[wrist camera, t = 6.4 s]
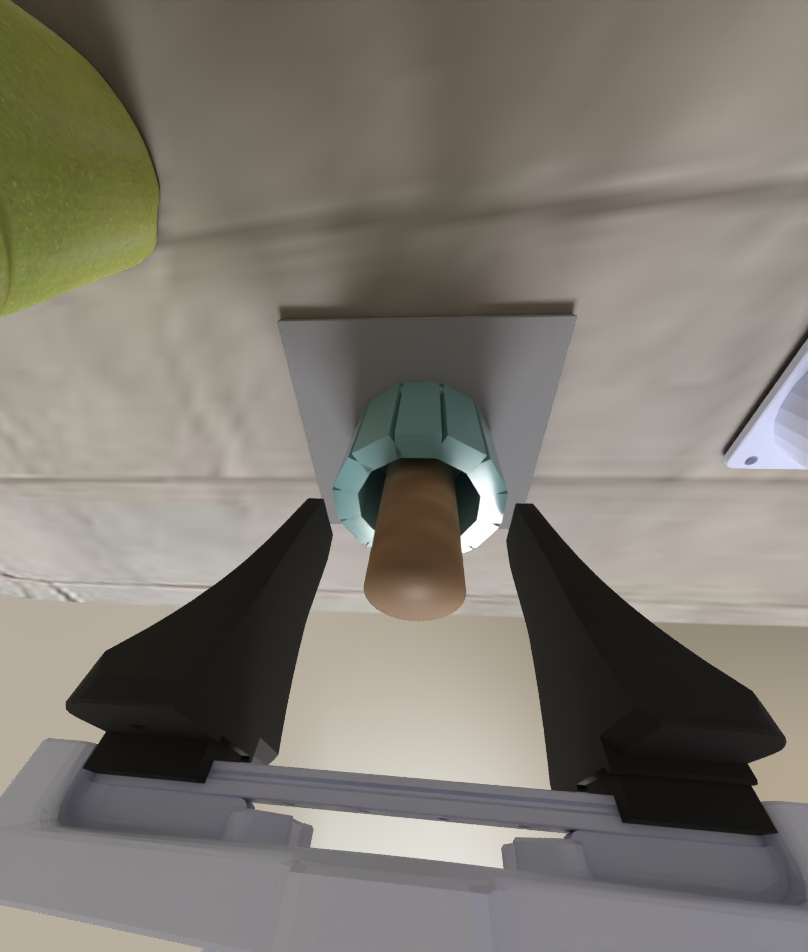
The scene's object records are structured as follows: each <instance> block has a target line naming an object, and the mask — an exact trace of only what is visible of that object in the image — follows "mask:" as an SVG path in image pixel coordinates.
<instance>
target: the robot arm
mask: <svg viewBox="0 0 808 952" xmlns="http://www.w3.org/2000/svg"><path fill="white" fill-rule="evenodd" d="M723 463H725V464H726V465H727V466H728V467H730V468H757V469H808V339H807V340H806V342H805V343H804V344H803V346H802V347H801V349H800V350H799V351H798V353H797V354H796V356H795V357H794V358H793V360H792V361H791V363H790V364H789V366H788V367H787V368H786V370H785V371H784V373H783V374H782V375H781V377H780V378H779V380H778V381H777V382H776V384H775V385H774V387H773V388H772V389H771V391H770V392H769V394H768V395H767V396H766V398H765V399H764V401H763V402H762V404H761V405H760V406H759V408H758V409H757V411H756V412H755V413H754V415H753V416H752V418H751V419H750V420H749V422H748V423H747V425H746V426H745V427H744V429H743V430H742V432H741V433H740V435H739V436H738V437H737V439H736V440H735V442H734V443H733V444H732V446H731V447H730V449H729V450H728V451H727V453H726V454H725V456H724V458H723ZM332 537H333V534H332V530H331V526H330V522H329V518H328V514H327V510H326V505H325V501H324V499H316V498H308V499H307V500H306V501H305V502H304V503H303V504H302V505H301V506H300V507H299V508H298V509H297V511H296V512H295V513H294V514H293V515H292V516H291V517H290V518H289V519H288V520H287V521H286V522H285V523H284V524H283V525H282V526H281V527H280V528H279V529H278V530H277V531H276V532H275V533H274V534H273V535H272V536H271V537H270V538H269V539H268V540H267V541H266V542H265V543H264V544H263V545H262V546H261V547H260V548H259V549H257V550H256V551H255V552H254V553H253V554H252V555H251V556H250V557H249V558H248V559H246V560H245V561H244V562H243V563H242V564H241V565H239V566H238V567H237V568H236V569H235V570H233V571H232V572H231V573H229V574H228V575H227V576H226V577H224V578H223V579H222V580H220V581H219V582H218V583H216V584H215V585H214V586H212V587H211V588H209V589H208V590H206V591H205V592H204V593H202V594H201V595H199V596H198V597H196V598H195V599H194V600H192V601H191V602H189V603H188V604H186V605H185V606H183V607H181V608H180V609H178V610H177V611H175V612H174V613H172V614H170V615H169V616H167V617H165V618H164V619H162V620H161V621H159V622H157V623H156V624H154V625H152V626H150V627H149V628H147V629H145V630H143V631H141V632H140V633H138V634H136V635H134V636H132V637H131V638H129V639H127V640H125V641H123V642H121V643H120V644H118V645H116V646H114V647H112V648H110V649H108V650H106V651H105V652H104V654H103V655H102V656H101V657H100V659H99V660H98V661H97V662H96V664H95V665H94V666H93V668H92V669H91V670H90V672H89V673H88V674H87V675H86V677H85V678H84V679H83V680H82V682H81V683H80V685H79V686H78V687H77V688H76V690H75V691H74V692H73V693H72V695H71V696H70V697H69V699H68V700H67V701H66V710H67V711H68V712H69V713H70V714H72V715H74V716H76V717H77V718H79V719H81V720H84V721H86V722H88V723H90V724H92V725H94V726H96V727H98V728H100V729H102V730H104V731H106V733H105V734H104V736H103V737H102V739H101V740H100V742H99V744H95V743H91V742H85V741H76V740H64V739H52V738H48V739H46V740H44V741H43V742H42V743H41V744H40V746H39V747H38V748H37V750H36V751H35V752H34V753H33V755H32V756H31V757H30V759H29V760H28V761H27V763H26V764H25V765H24V767H23V768H22V769H21V771H20V772H19V773H18V775H17V776H16V777H15V779H14V780H13V781H12V782H11V784H10V785H9V786H8V788H7V789H6V790H5V792H4V793H3V794H2V796H1V797H0V905H4V906H9V907H14V908H19V909H24V910H29V911H33V912H38V913H42V914H48V915H52V916H56V917H61V918H66V919H70V920H75V921H80V922H84V923H89V924H93V925H98V926H103V927H108V928H112V929H117V930H121V931H126V932H130V933H135V934H140V935H145V936H149V937H154V938H158V939H163V940H168V941H173V942H177V943H181V944H186V945H191V946H195V947H200V948H202V951H201V952H808V804H806V803H794V802H782V801H765V802H760V800H759V799H758V797H757V795H756V793H755V791H754V790H753V788H752V786H751V785H753V786H754V785H757V784H758V783H757V779H756V777H755V775H754V774H753V772H752V770H751V769H750V767H749V765H748V763H750V762H753V761H755V760H758V759H761V758H764V757H767V756H769V755H772V754H774V753H776V752H778V751H780V750H782V749H783V748H784V747H785V745H786V738H785V736H784V735H783V733H782V732H781V731H780V729H779V728H778V726H777V725H776V723H775V722H774V720H773V719H772V717H771V716H770V715H769V713H768V712H767V710H766V709H765V707H764V706H763V705H762V703H761V702H760V701H759V699H758V698H757V697H756V695H755V694H754V693H753V691H751V690H750V689H748V688H747V687H745V686H744V685H742V684H740V683H739V682H737V681H736V680H734V679H733V678H731V677H730V676H728V675H726V674H725V673H723V672H722V671H720V670H718V669H717V668H715V667H714V666H712V665H711V664H709V663H707V662H706V661H705V660H703V659H702V658H700V657H699V656H697V655H696V654H694V653H693V652H692V651H690V650H689V649H687V648H686V647H684V646H683V645H681V644H680V643H679V642H677V641H676V640H674V639H673V638H671V637H670V636H669V635H668V634H666V633H665V632H663V631H662V630H661V629H659V628H658V627H657V626H655V625H654V624H653V623H652V622H650V621H649V620H648V619H647V618H645V617H644V616H643V615H642V614H640V613H639V612H638V611H636V610H635V609H634V608H633V607H632V606H630V605H629V604H628V603H627V602H626V601H624V600H623V599H622V598H621V597H620V596H619V595H617V594H616V593H615V592H614V591H613V590H612V589H611V588H610V587H608V586H607V585H606V584H605V583H604V582H603V581H602V580H601V579H600V578H599V577H598V576H597V575H596V574H595V573H594V572H593V571H592V570H591V569H590V568H589V567H588V566H587V565H586V564H585V563H584V562H583V561H582V560H581V559H580V558H579V557H578V556H577V555H576V554H575V553H574V552H573V550H572V549H571V548H570V547H569V546H568V545H567V544H566V543H565V542H564V540H563V539H562V538H561V537H560V536H559V535H558V533H557V532H556V531H555V530H554V529H553V527H552V526H551V525H550V524H549V523H548V521H547V520H546V519H545V518H544V517H543V515H542V514H541V513H540V512H539V510H538V509H537V508H536V507H535V506H534V505H533V504H523V503H516V504H515V508H514V512H513V516H512V520H511V524H510V528H509V532H508V536H507V540H506V542H507V549H508V556H509V563H510V568H511V572H512V575H513V579H514V582H515V586H516V590H517V593H518V597H519V600H520V604H521V607H522V611H523V615H524V618H525V622H526V626H527V629H528V634H529V639H530V644H531V650H532V656H533V661H534V667H535V673H536V680H537V686H538V692H539V699H540V706H541V713H542V720H543V727H544V735H545V743H546V752H547V760H548V769H549V778H550V786H551V790H543V789H532V788H521V787H510V786H498V785H487V784H474V783H464V782H452V781H441V780H430V779H419V778H407V777H396V776H385V775H373V774H362V773H350V772H339V771H328V770H316V769H304V768H294V767H283V766H271V765H268V764H270V763H271V762H272V761H273V760H274V759H275V758H276V757H277V756H278V754H279V748H280V742H281V736H282V731H283V725H284V720H285V714H286V708H287V703H288V699H289V693H290V689H291V684H292V679H293V674H294V670H295V665H296V661H297V657H298V652H299V648H300V644H301V640H302V635H303V632H304V628H305V623H306V621H307V617H308V614H309V611H310V608H311V605H312V603H313V600H314V597H315V594H316V591H317V588H318V586H319V583H320V580H321V577H322V574H323V571H324V568H325V566H326V563H327V560H328V555H329V551H330V546H331V541H332ZM252 803H261V804H271V805H282V806H292V807H302V808H312V809H323V810H333V811H343V812H353V813H363V814H374V815H384V816H394V817H405V818H415V819H426V820H435V821H445V822H456V823H467V824H476V825H477V824H478V825H487V826H497V827H507V828H517V829H527V830H538V831H548V832H558V833H568V834H567V835H566V836H565V837H564V839H559V838H522V837H521V838H520V837H516V838H515V839H514V841H513V843H511V844H504V845H503V846H502V848H501V850H502V859H503V867H504V869H500V868H493V867H484V866H476V865H468V864H460V863H452V862H444V861H435V860H426V859H417V858H407V857H399V856H390V855H380V854H371V853H361V852H351V851H340V850H329V849H318V848H310V844H311V839H312V834H313V827H312V826H311V825H308V824H305V823H301V822H299V821H297V820H294V819H293V816H290V815H284V814H278V813H272V812H266V811H260V810H255V807H254V805H253V804H252Z"/></svg>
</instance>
